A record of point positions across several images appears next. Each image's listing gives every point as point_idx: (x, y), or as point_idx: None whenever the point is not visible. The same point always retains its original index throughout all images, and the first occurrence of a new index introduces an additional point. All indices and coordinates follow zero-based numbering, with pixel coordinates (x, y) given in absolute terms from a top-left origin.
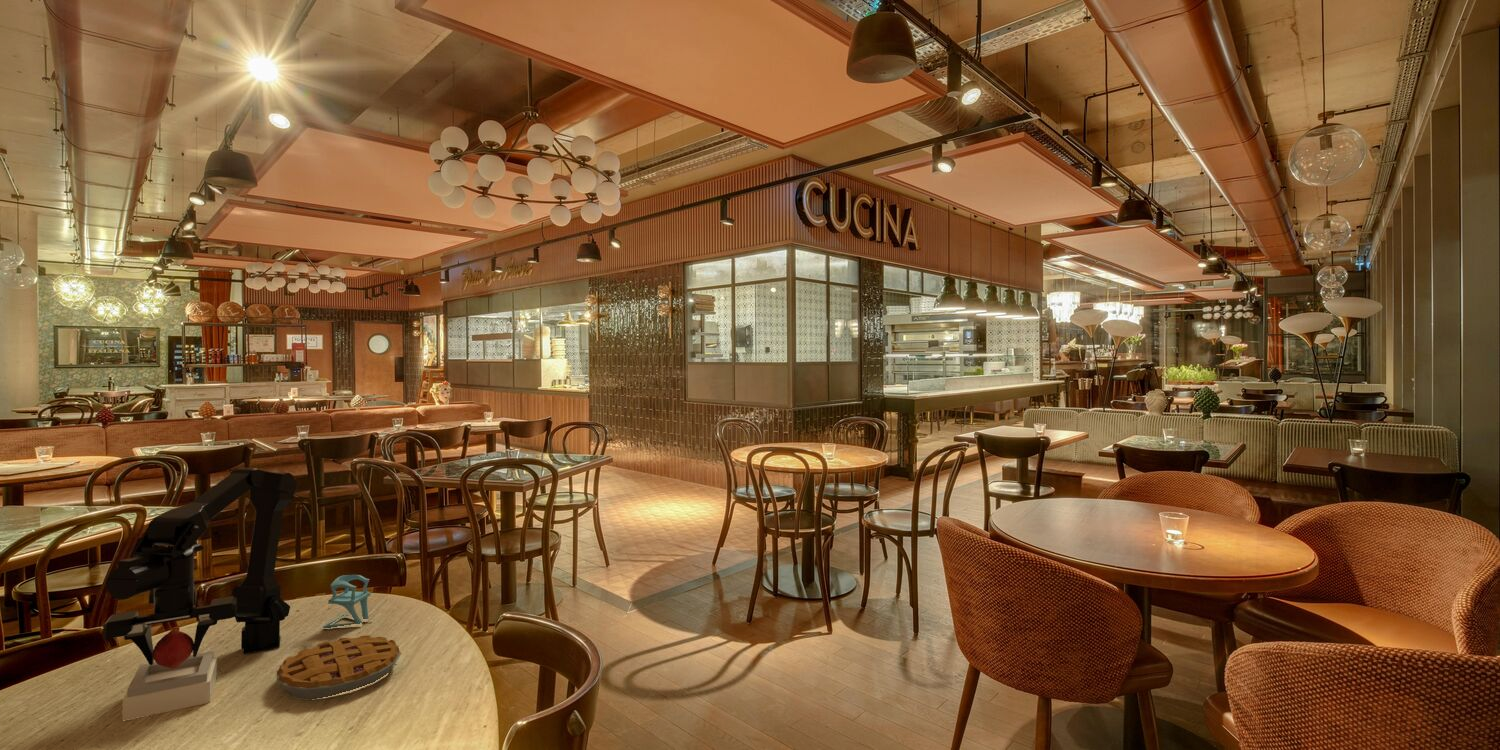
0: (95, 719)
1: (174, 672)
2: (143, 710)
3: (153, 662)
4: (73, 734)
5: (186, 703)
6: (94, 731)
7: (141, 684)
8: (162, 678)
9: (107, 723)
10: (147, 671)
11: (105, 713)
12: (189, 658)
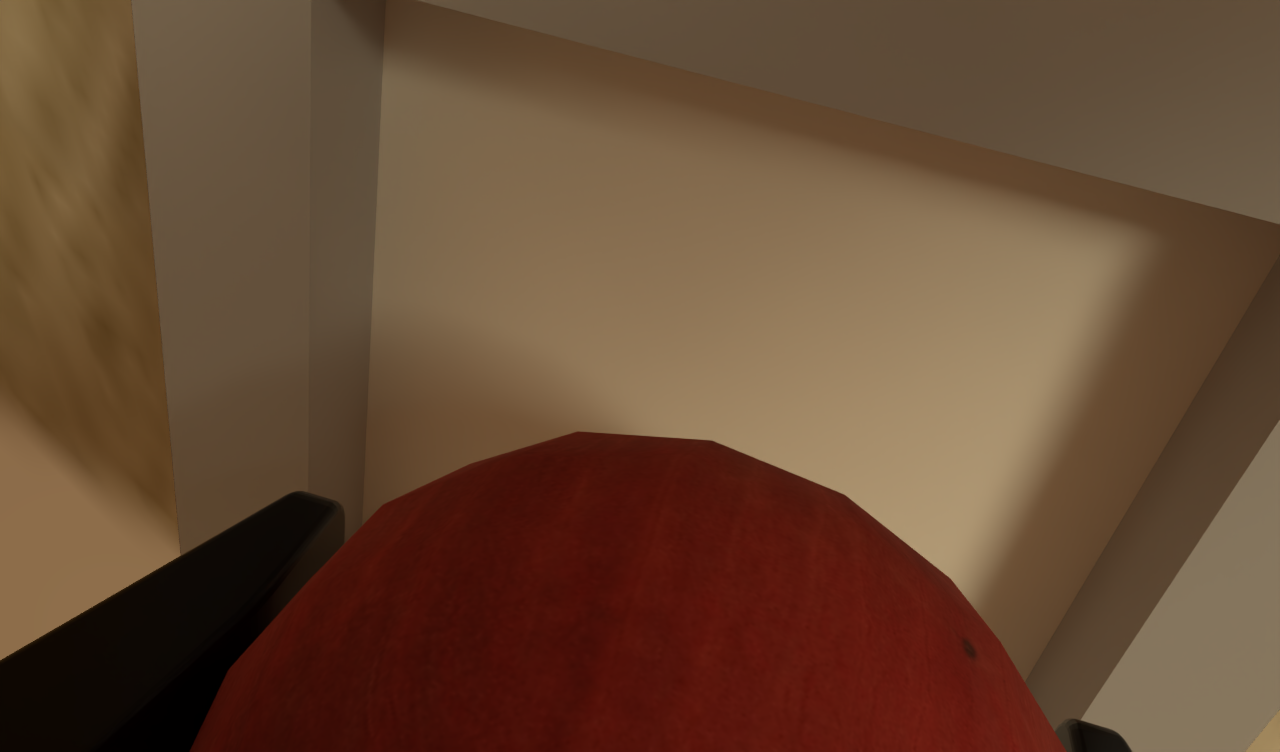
0: (87, 193)
1: (784, 229)
2: None
3: (337, 538)
4: (13, 383)
5: None
6: (162, 454)
7: None
8: (597, 349)
9: None
10: (333, 131)
11: (139, 105)
12: (1099, 166)
